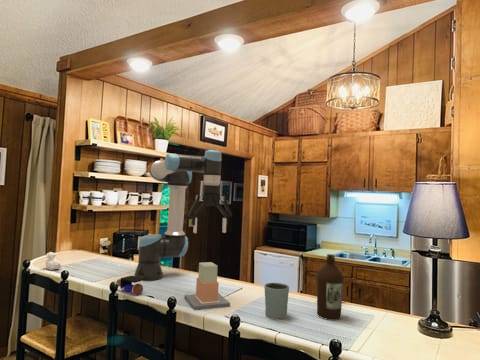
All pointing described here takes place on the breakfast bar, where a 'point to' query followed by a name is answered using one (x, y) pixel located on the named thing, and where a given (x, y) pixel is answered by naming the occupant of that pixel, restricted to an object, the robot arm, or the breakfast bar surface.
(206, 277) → the sage brick
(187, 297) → the slate board
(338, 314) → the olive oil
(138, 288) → the figurine character
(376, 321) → the breakfast bar surface
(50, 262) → the duck figurine
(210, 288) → the terracotta brick
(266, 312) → the grey cup
